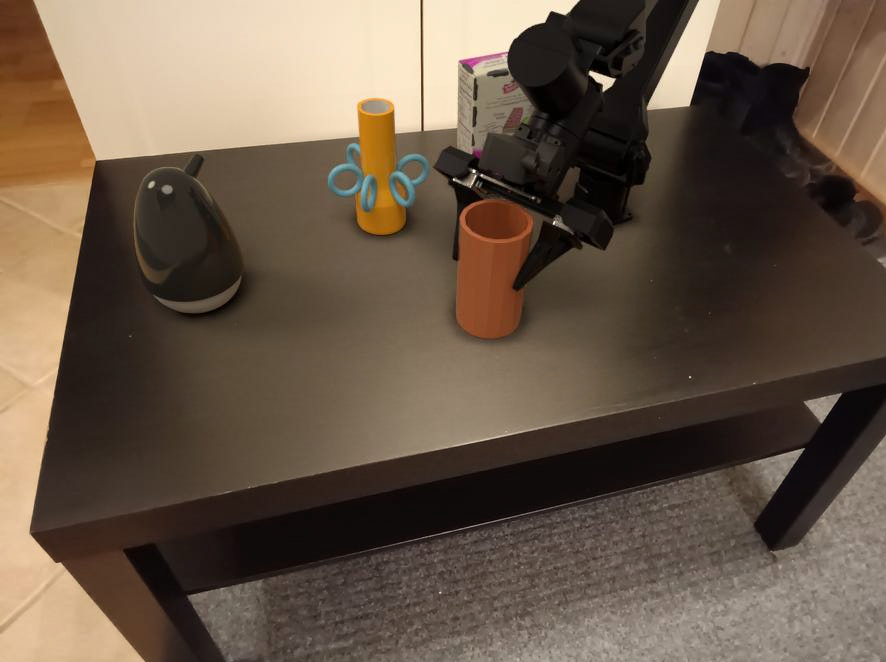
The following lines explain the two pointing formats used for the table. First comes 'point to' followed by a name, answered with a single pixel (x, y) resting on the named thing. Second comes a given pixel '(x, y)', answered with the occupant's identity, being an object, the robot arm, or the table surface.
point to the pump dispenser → (184, 241)
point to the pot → (491, 266)
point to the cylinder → (379, 171)
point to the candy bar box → (488, 102)
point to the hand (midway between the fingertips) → (484, 274)
